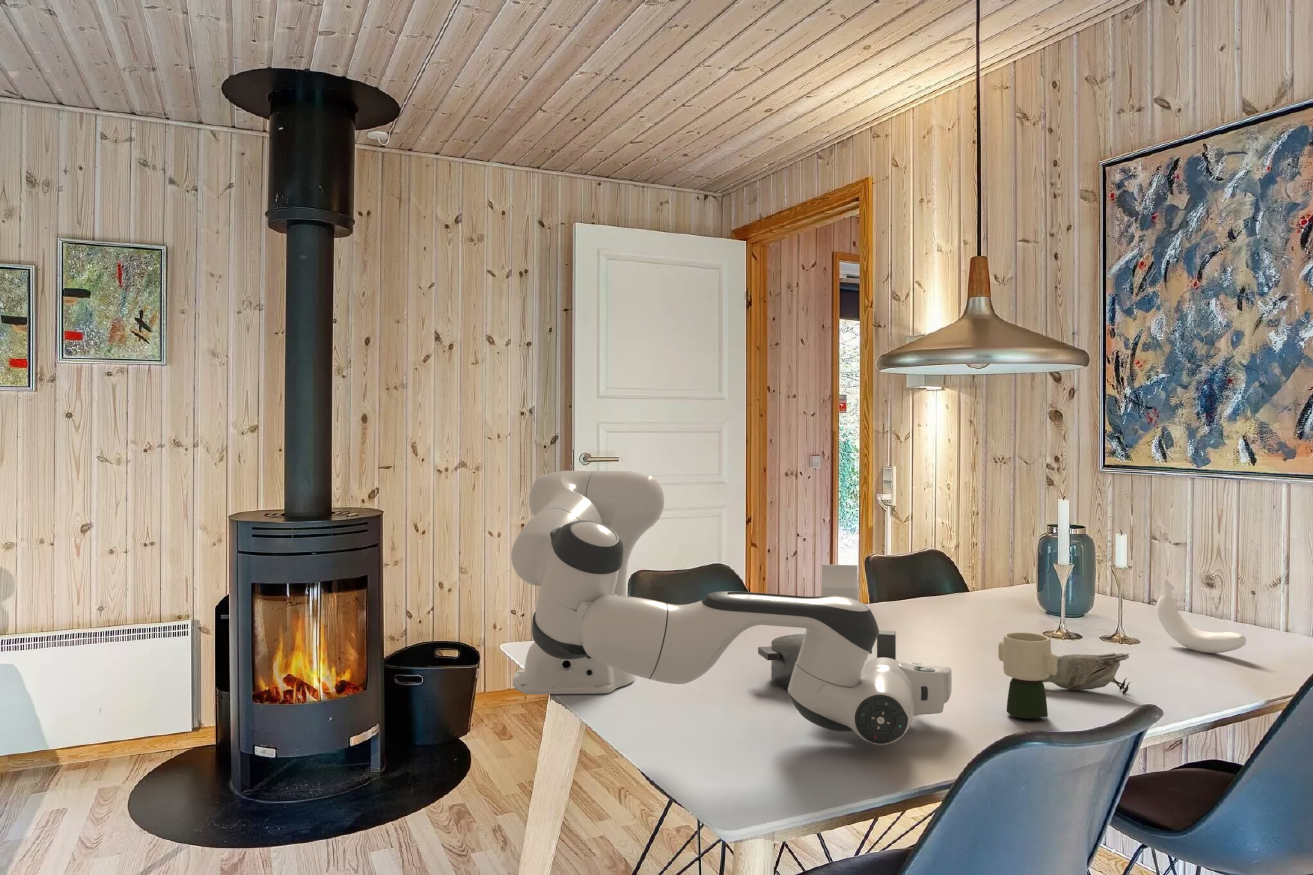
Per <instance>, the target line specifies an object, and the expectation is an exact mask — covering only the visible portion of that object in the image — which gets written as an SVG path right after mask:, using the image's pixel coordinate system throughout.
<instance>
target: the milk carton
mask: <svg viewBox="0 0 1313 875" xmlns="http://www.w3.org/2000/svg"><path fill="white" fill-rule="evenodd" d="M858 566H859V565H857V564H855V565H854V564H826V563H825V564H823V563H822V564H821V596H839V597H847V598H851V599H854V600H857V601H859V578H858V577H859V576H858V575H859V573H858V572H859V571H858V570H859V568H858Z"/></svg>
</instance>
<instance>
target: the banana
mask: <svg viewBox="0 0 1313 875" xmlns="http://www.w3.org/2000/svg"><path fill="white" fill-rule="evenodd" d="M1164 578H1165V577H1164ZM1163 582H1164V584H1163V586H1164V592H1163V595H1162V596H1160V597H1159V599H1158V600H1157V602H1156V608H1155V609H1156V614H1157V617H1158V620H1159V622H1160V624H1161V626H1162V628H1163V629H1164V631H1165V632H1166V633H1167V634H1168V635H1169V637H1171V638H1172V639H1173V640H1174V641H1176V642H1177V643H1178V644H1180V645H1181V646H1183V647H1185V648H1186V649H1187V648H1188V649H1190V650H1192V651H1194V652H1199V653H1203V654H1220V653H1227V652H1233V651H1236V650H1238V649H1240V648H1242V647H1244V646H1245V645H1246V643H1247V638H1246V637H1245V636H1244V635H1243V634H1240V633H1237V632H1231V631H1228V632H1227V631H1223V632H1222V631H1221V632H1211V631H1204V630H1201V629H1198V628H1195V627H1193V626H1191V624H1189V623H1188V622H1187V621H1186V620H1185V619H1184V618H1183V617H1182V615H1181V614H1180V613H1179V610H1178V607H1177V605H1176V602H1175V598H1174V597H1173V592H1174V589H1175V587H1174V585H1173V584H1172V583H1171V582H1170V581H1169V580H1168V578H1165V579H1164V581H1163Z"/></svg>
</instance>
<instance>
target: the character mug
mask: <svg viewBox="0 0 1313 875" xmlns="http://www.w3.org/2000/svg"><path fill="white" fill-rule="evenodd" d="M997 646H998V650H997V651H998V660H999V661H1001V662H1002V663H1003V666H1002V667H1003V673H1004V675H1006V676H1008V677H1010V678H1011V680H1010V681H1009V687H1008V691H1007V692H1008V694H1007V702H1006V712H1007V713H1008V714H1009V715H1010V716H1012V717H1016V718H1020V719H1032V720H1034V721H1035V720H1037V719H1039V718H1048V717H1049V715H1048V702H1047V696H1046V695H1047V694H1046V689H1045V684H1044V683H1043V682H1042V681H1041V680H1044V679H1047V678H1048V677H1049V675H1050V674H1051V675H1056V673H1057V656H1058V655H1056V654H1054V653H1052V649H1051V648H1052V647H1051V646H1052V640H1051V638H1050V636H1047V635H1045V634H1040V633H1035V632H1024V631H1022V632H1021V631H1018V632H1016V631H1015V632H1008V633H1005V634H1003V639H1002V641H999V643H998V645H997Z"/></svg>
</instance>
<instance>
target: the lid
mask: <svg viewBox="0 0 1313 875" xmlns="http://www.w3.org/2000/svg"><path fill="white" fill-rule="evenodd" d="M896 636H897V631H896V630H884V629H883V630H882V629H879V634H878V636H877V638H876V658H882V657H884V658H891V659H894V660H896V661H897V658H896V657H897V649H896V648H897V643H896V642H897V638H896Z"/></svg>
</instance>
